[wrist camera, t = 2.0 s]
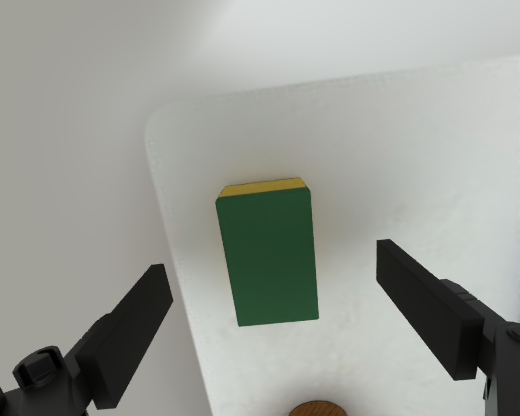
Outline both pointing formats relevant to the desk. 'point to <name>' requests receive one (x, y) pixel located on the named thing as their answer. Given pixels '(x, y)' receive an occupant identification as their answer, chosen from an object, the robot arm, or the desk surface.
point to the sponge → (269, 251)
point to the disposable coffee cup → (318, 409)
